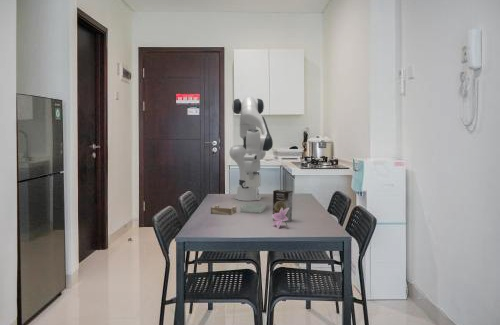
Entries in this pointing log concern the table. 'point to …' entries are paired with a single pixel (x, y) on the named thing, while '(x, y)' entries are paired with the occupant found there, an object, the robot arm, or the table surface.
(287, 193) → the coffee box
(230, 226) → the table surface
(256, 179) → the white block
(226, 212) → the bay
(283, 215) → the lily
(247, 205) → the tray
